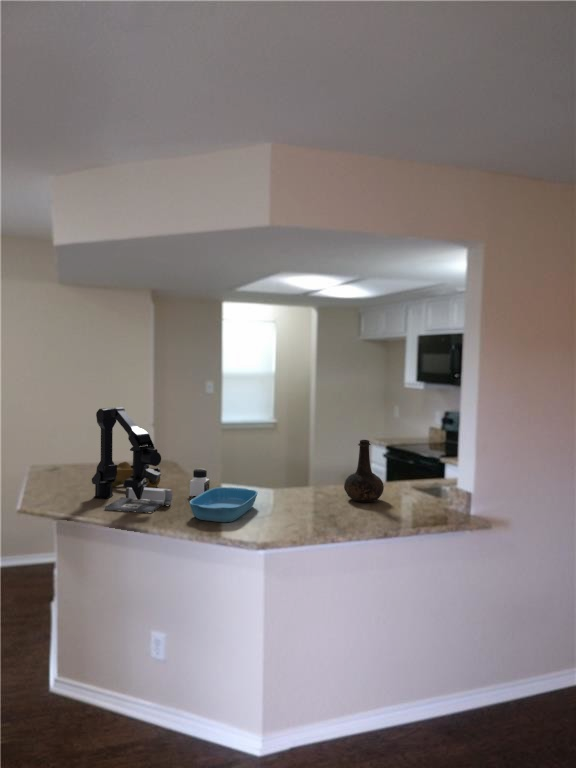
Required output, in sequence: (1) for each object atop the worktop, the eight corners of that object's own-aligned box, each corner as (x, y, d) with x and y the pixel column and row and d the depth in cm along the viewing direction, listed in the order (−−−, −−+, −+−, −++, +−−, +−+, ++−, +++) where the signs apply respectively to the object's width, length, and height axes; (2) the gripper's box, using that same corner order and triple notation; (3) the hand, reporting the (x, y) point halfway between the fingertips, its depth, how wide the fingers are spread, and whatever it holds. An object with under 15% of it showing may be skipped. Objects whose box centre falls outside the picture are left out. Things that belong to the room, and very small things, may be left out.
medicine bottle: (204, 497, 250) (204, 471, 250) (189, 496, 251) (189, 470, 251) (209, 493, 257) (210, 468, 257) (194, 492, 258) (195, 467, 258)
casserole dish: (215, 499, 249) (215, 483, 248) (262, 504, 243) (263, 488, 243) (180, 522, 213) (181, 504, 213) (235, 528, 208) (235, 510, 207)
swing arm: (173, 498, 237) (173, 489, 237) (170, 501, 233) (170, 491, 233) (129, 495, 240) (130, 486, 240) (125, 498, 236) (125, 488, 236)
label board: (104, 509, 226) (104, 504, 226) (121, 500, 242) (121, 495, 241) (159, 513, 223) (159, 508, 222) (173, 503, 238) (173, 498, 238)
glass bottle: (390, 500, 256) (392, 440, 254) (368, 507, 243) (371, 444, 241) (358, 493, 268) (360, 436, 266) (336, 499, 255) (338, 439, 253)
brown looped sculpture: (130, 464, 281) (163, 463, 271) (127, 490, 278) (160, 489, 267) (102, 458, 266) (136, 456, 256) (98, 485, 262) (132, 484, 252)
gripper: (149, 468, 219) (148, 506, 220) (166, 459, 238) (165, 495, 238) (123, 466, 221) (122, 504, 221) (141, 458, 239) (141, 493, 240)
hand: (139, 499), depth 230 cm, fingers closed
